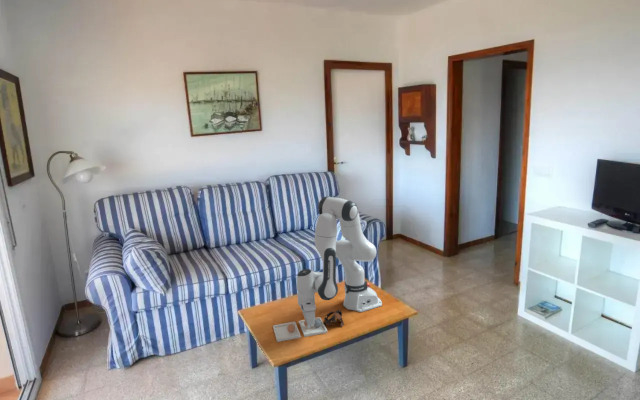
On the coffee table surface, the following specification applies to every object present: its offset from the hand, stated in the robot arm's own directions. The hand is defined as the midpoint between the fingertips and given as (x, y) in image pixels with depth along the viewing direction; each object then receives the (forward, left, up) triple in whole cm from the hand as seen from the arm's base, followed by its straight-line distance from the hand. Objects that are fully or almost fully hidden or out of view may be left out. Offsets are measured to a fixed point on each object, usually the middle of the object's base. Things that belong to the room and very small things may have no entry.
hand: (307, 324), depth 203 cm
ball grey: (-5, +1, -2) cm, 5 cm away
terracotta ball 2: (0, 0, -1) cm, 1 cm away
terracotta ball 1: (+9, +1, -2) cm, 9 cm away
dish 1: (+12, +1, -3) cm, 12 cm away
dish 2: (-2, +1, -3) cm, 4 cm away
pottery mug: (-15, 0, -3) cm, 15 cm away
